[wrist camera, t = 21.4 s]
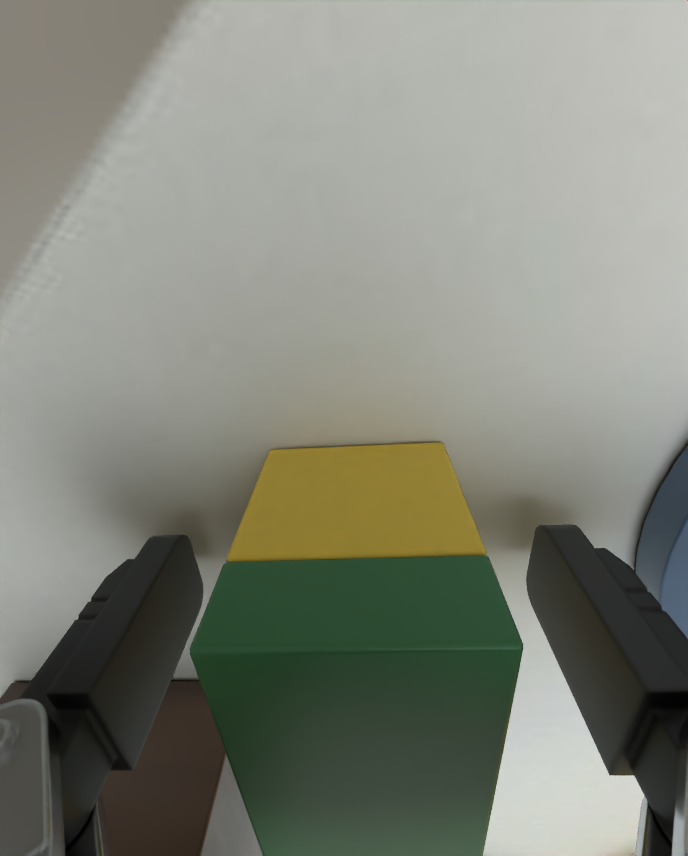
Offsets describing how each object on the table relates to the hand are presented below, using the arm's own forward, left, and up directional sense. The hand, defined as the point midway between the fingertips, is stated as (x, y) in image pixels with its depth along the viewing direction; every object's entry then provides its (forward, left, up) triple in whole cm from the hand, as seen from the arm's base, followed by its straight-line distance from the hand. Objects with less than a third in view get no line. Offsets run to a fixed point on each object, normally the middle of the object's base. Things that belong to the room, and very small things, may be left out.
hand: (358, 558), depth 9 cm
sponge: (+1, 0, -1) cm, 1 cm away
